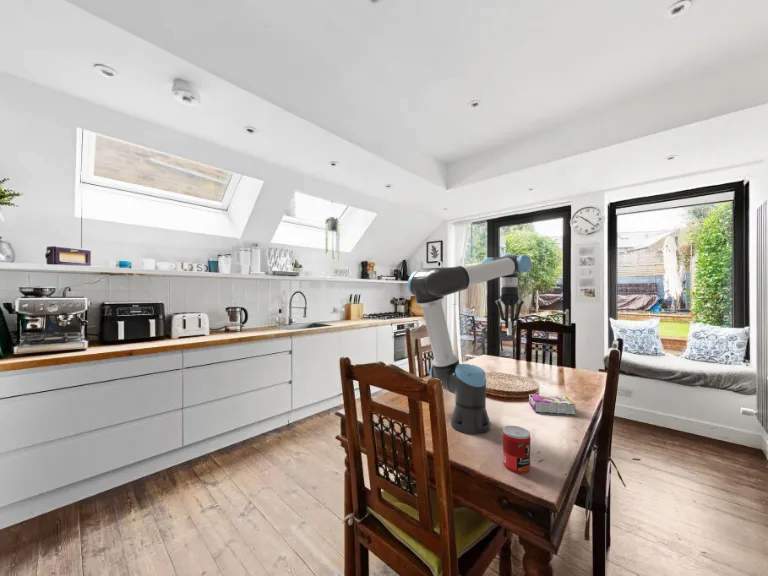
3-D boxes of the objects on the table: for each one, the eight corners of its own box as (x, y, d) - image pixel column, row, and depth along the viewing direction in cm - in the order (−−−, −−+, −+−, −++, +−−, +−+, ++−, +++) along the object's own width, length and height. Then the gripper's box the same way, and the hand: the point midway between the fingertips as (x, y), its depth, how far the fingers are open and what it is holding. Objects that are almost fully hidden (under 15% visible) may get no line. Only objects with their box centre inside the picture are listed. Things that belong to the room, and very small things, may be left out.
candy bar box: (528, 393, 152) (566, 395, 149) (528, 403, 152) (566, 406, 149) (535, 400, 141) (576, 404, 138) (535, 412, 141) (575, 415, 138)
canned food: (521, 477, 93) (521, 439, 93) (497, 464, 100) (497, 429, 100) (535, 468, 98) (535, 432, 98) (511, 457, 104) (511, 423, 104)
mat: (540, 414, 140) (540, 413, 140) (530, 403, 154) (530, 402, 154) (577, 416, 138) (577, 415, 138) (563, 405, 152) (563, 404, 152)
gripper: (497, 286, 154) (496, 335, 154) (525, 286, 152) (525, 336, 152) (494, 286, 161) (493, 333, 161) (521, 286, 159) (521, 334, 159)
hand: (509, 335), depth 156 cm, fingers closed
